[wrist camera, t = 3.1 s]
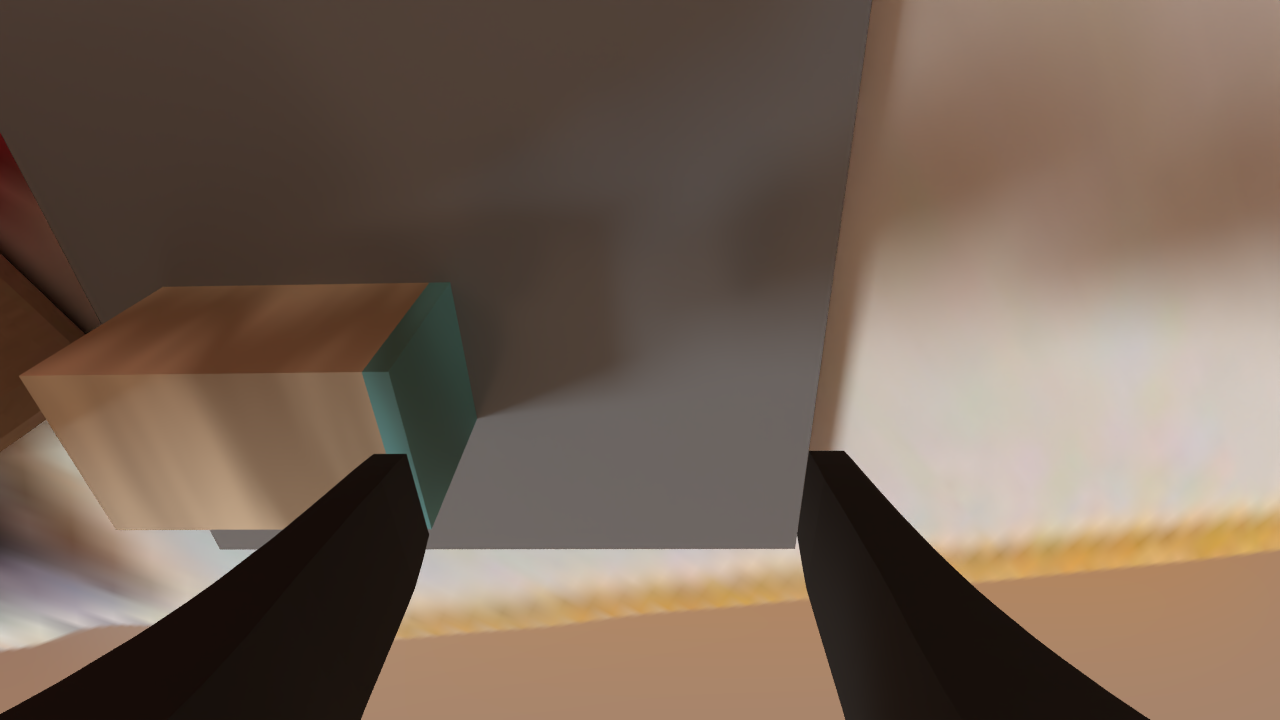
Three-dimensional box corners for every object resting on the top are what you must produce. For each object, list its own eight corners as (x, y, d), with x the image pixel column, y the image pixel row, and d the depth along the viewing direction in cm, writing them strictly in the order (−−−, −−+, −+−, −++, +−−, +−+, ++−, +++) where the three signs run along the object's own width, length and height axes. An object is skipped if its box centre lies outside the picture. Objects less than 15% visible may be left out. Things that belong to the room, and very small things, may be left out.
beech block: (388, 371, 12) (18, 376, 12) (431, 529, 14) (115, 530, 14) (449, 282, 15) (162, 286, 15) (477, 418, 17) (223, 420, 17)
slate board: (871, -90, 12) (884, -95, 11) (790, 528, 20) (794, 548, 19) (-58, -57, 12) (-101, -59, 12) (234, 530, 21) (220, 549, 20)
